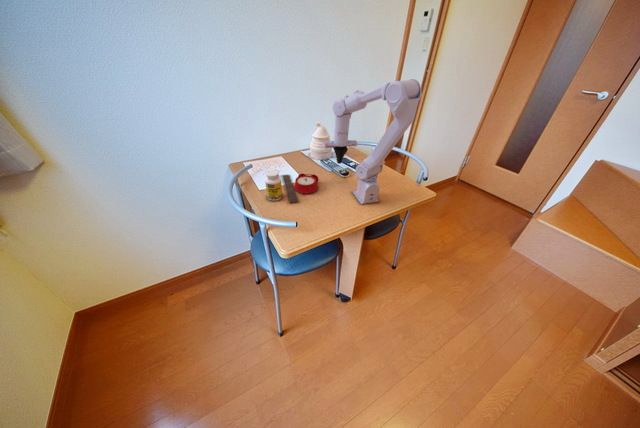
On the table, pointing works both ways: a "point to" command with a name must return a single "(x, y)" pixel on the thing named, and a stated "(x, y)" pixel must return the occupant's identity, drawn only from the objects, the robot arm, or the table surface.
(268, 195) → the pill bottle
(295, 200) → the ruler
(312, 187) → the alarm clock
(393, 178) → the table surface
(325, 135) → the honey pot
